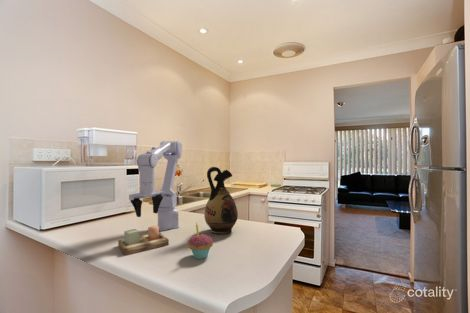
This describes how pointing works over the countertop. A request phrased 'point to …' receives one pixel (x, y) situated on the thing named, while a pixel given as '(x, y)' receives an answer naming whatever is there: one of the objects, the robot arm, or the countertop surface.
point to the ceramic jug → (220, 204)
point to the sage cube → (131, 237)
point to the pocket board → (143, 244)
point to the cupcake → (200, 245)
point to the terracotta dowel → (153, 233)
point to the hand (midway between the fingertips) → (147, 214)
